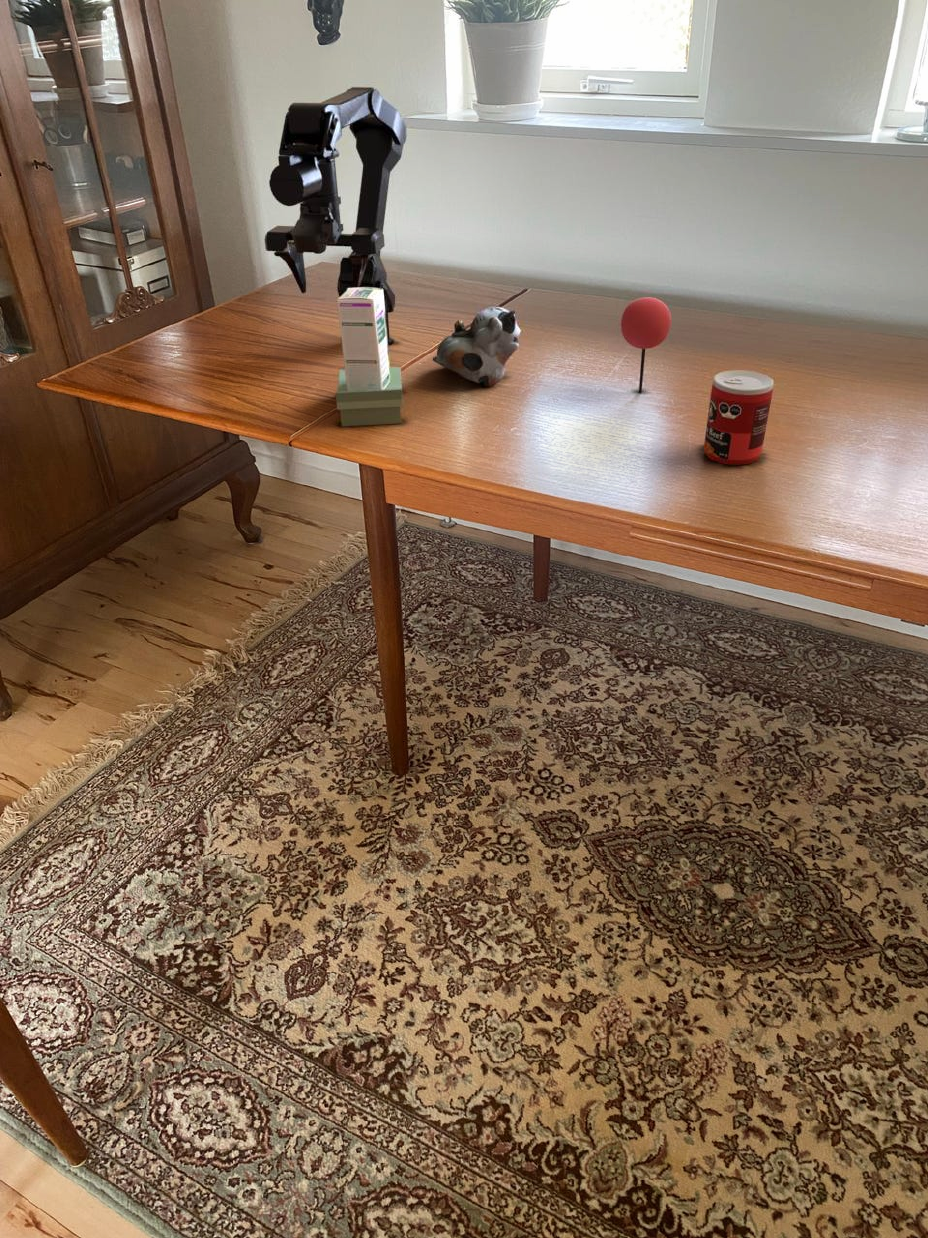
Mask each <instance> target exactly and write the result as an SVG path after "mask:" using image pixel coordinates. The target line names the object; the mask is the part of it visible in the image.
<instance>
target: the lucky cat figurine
mask: <svg viewBox="0 0 928 1238" xmlns="http://www.w3.org/2000/svg"><path fill="white" fill-rule="evenodd" d="M516 316H517V311H516V310H515V309H513V310H510V311H509V310H508V309H507V308H504V307H501V306H487V308H484V309H482V310H480V311H478V312H477V313H476V315H475V316H474V318H473V319H472V322H471V324H470V327H469V328H468V329H466V326H465V323H464V322H463V321H462V320H460V319H457V320H456V322H455V323H454V325H453V327H454V332H453V333H451V334H450V335H449V336H446V337H444V338H443V339H442V340H441V342H440V343H439V344H438V347H437V349H436V356H433V357H432V361H433V362H434V363H436V364H437V365H439V366H442V367H443V368H446V369H448V370H451V371H453V372H455V373H457V374H458V375H459V376H461V377H463V378H464V379H466V380H468V381H471V382H474V383H476V384H481V383H483V385H484V386H485V387H492V386H493V385H494V384H496V383H498V382H499V381H500V380H502V379H503V378H504V376H505V371H506V363H507V361H509V359H510V358H511V356H512V355H513V354H514V353H515V352H516V351H517V349H519V346H520V344H519V337H520V334H521V331H522V330H521V329H520V327H519V326H518V322H517V317H516Z"/></svg>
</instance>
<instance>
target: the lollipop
mask: <svg viewBox="0 0 928 1238" xmlns="http://www.w3.org/2000/svg"><path fill="white" fill-rule="evenodd" d="M671 316H672V315H671V312H670V310H669V308H668V306H667V305H666V304H665V302H663V301H662V300H660V299H658V298H655V297H651V296H645V297H638V298H636V299H634V300H632V301H631V302H630V303H628V305H626V307H625V309H624V310H623V312H622V316H621V319H620V330H621V335H622V336H623V338H624V340H625V341H626V343H627V344H629V345H630V346H632V347H633V348H636V349H641V355H640V356H641V357H640V371H639V383H638V391H637V392H638V393H643V382H644V371H645V357H646V350H647V349H654V348H656V347H658V346H660V345H661V344H662V343H663V342H664V341H665V340H666V338H667V337H668V334H669V333H670V330H671V326H672V317H671Z"/></svg>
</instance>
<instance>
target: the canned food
mask: <svg viewBox="0 0 928 1238" xmlns="http://www.w3.org/2000/svg"><path fill="white" fill-rule="evenodd" d="M774 383H775V381H774V380H773V378H771V377H770V376H769V375H766V374H764V373H761V372H758V371H752V370H746V369H745V370H744V369H732V370H725V371H721V372H719V373H717V374H715V375H714V376H713V380H712V383H711V384H712V385H711V391H710V396H709V397H710V399H709V405H708V414H707V420H706V427H705V436H704V443H703V449H704V454H705V456H706V457H708V458H709V459H710V460H711V461H714V462H716V463H719V464H723V465H730V466H743V465H749V464H752V463H754V462H756V461H757V460H759V458H760V456H761V455H762V452H763V446H764V441H765V435H766V431H767V425H768V421H769V414H770V409H771V403H772V398H773V391H774Z"/></svg>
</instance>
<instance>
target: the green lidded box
mask: <svg viewBox="0 0 928 1238" xmlns="http://www.w3.org/2000/svg"><path fill="white" fill-rule="evenodd" d="M390 372H391V381H390V382H389V384H388V385H387V387H386V388H385V389H379V390H359V391H348V390H347V383H346V374H345V369H339V370H338V378H337V379H338V380H337V381H338V382H337V391H335V400H336V401H335V402H336V410H337V411H339V412H340V413H339V414H340V422H341V427H358V426H359V427H360V426H376V425H377V426H379V425H394V424H395V425H396V424H402V410H401V409H402V408H401V407H404V401H403V399H404V398H403V386H402V384H403V383H402V373H401V366H390Z"/></svg>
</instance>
